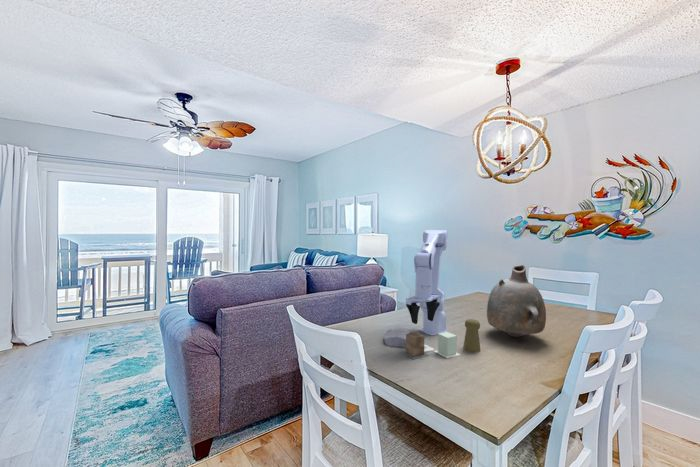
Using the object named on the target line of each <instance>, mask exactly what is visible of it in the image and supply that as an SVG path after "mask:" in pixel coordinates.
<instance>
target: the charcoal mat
mask: <svg viewBox="0 0 700 467" xmlns="http://www.w3.org/2000/svg"><path fill="white" fill-rule="evenodd" d="M400 353H402V354H403V355H405V356H406V357H409V358H410V359H412V361H414V360H417V359H422V358H425V357H426V358H427V357H429V356H430V355H429V354H428V353H426V352H424V355H420V356H416V357H413V356H412V355H410V354H408V353H407V352H406V349H405V350H401V351H400Z"/></svg>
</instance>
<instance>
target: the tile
mask: <svg viewBox="0 0 700 467" xmlns="http://www.w3.org/2000/svg"><path fill="white" fill-rule="evenodd" d="M433 352H434V353H436V354H439V355H440V356H442V357H444V358H446V359H449V358H454V357H456V356H461V354H460V353H458V352H457V353H456V354H455V355H451V356H445V355H443V354H441V353H440V352H438V349H437V350H433Z"/></svg>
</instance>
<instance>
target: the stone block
mask: <svg viewBox="0 0 700 467" xmlns="http://www.w3.org/2000/svg"><path fill="white" fill-rule="evenodd" d="M408 333H410V330H409V329H408V330H405V329H402V328H401V329H399V328H394V329H393V328H392V329H389V330H386V333H385V334H384V336H383V340H384V341H383V342H384V343H385V345H386V346H389V347H397V348H398V347H400V348H401V347H402V348H406V334H408Z"/></svg>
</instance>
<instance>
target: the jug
mask: <svg viewBox="0 0 700 467" xmlns="http://www.w3.org/2000/svg"><path fill="white" fill-rule="evenodd" d="M526 268H527V267H526V266H525V265H524V264H521V265H517V266H516V265H515V266H513V267H512V269H511V271H512V272H511V274H510V277H509V278H506V279H503V278H501V279H500V280H498V282H497V283H496V284H495V285H494V286H493V287H492V289H491V291H490V293H489V296H488V300H487V305H486V318H487V322H488V324H489V325H490V326H491V327H493V328H494V329H497V330H500V331H503V332H505V333H507V334H508V335H510V336H512V337H514V338H518V337H522V336H525V335H526V336H527V335H535V334H540V333H542V332H543V331H544V330H545V328H546V321H547V310H546V305H545V301H544V298H543V295H542V294H541V292H540V290H539V289H538V288H537V287H536V286H535V285H534V284H532V283H530V282H529V281H528V279H527V273H526V270H527V269H526Z"/></svg>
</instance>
